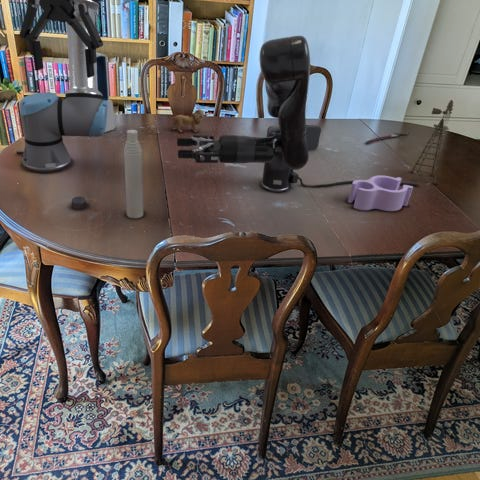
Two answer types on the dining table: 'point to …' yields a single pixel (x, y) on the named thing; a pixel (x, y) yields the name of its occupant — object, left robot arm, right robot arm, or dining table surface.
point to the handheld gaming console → (310, 136)
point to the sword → (384, 137)
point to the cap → (78, 203)
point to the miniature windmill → (438, 128)
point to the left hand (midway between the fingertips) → (65, 73)
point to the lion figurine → (189, 120)
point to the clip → (379, 193)
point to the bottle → (133, 175)
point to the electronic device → (105, 89)
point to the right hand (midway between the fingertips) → (177, 147)
